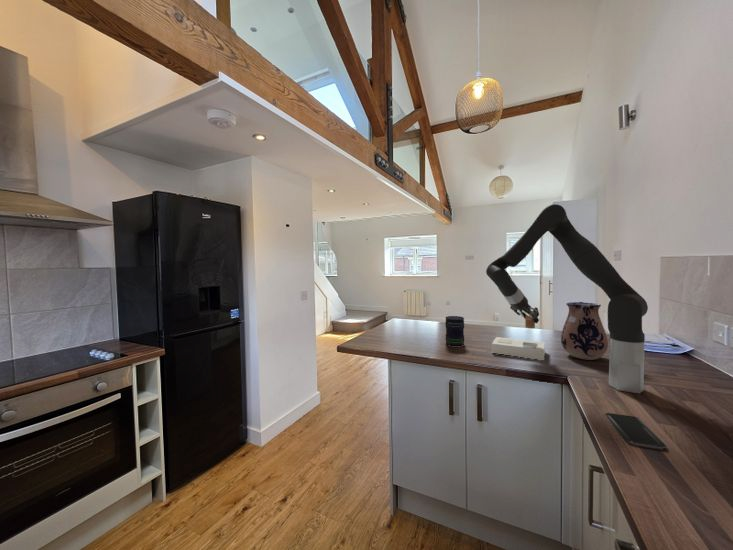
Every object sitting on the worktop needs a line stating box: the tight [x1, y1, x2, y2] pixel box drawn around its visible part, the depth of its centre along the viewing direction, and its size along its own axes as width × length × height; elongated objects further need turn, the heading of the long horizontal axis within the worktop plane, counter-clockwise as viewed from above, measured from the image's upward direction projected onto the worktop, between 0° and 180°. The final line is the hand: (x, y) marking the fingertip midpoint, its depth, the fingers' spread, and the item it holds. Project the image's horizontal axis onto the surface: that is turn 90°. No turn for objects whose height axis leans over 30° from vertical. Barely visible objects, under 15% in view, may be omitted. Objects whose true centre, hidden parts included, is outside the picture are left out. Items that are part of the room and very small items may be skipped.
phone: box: [605, 412, 668, 451], centre depth 78 cm, size 8×1×15 cm
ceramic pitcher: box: [560, 301, 609, 361], centre depth 138 cm, size 18×21×25 cm
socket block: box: [491, 336, 546, 361], centre depth 145 cm, size 14×22×5 cm, turn 58°
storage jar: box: [445, 315, 465, 347], centre depth 161 cm, size 10×10×15 cm
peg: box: [524, 314, 536, 329], centre depth 141 cm, size 4×4×8 cm
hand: (532, 320), depth 142 cm, fingers closed on peg, 4 cm apart
